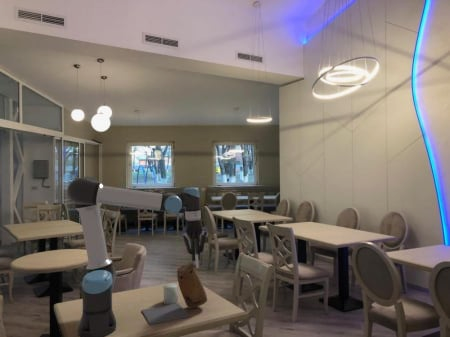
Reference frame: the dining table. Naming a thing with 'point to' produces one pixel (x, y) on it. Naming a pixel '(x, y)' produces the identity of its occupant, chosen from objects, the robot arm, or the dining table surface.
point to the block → (191, 286)
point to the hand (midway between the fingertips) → (196, 267)
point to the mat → (164, 313)
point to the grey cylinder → (170, 294)
